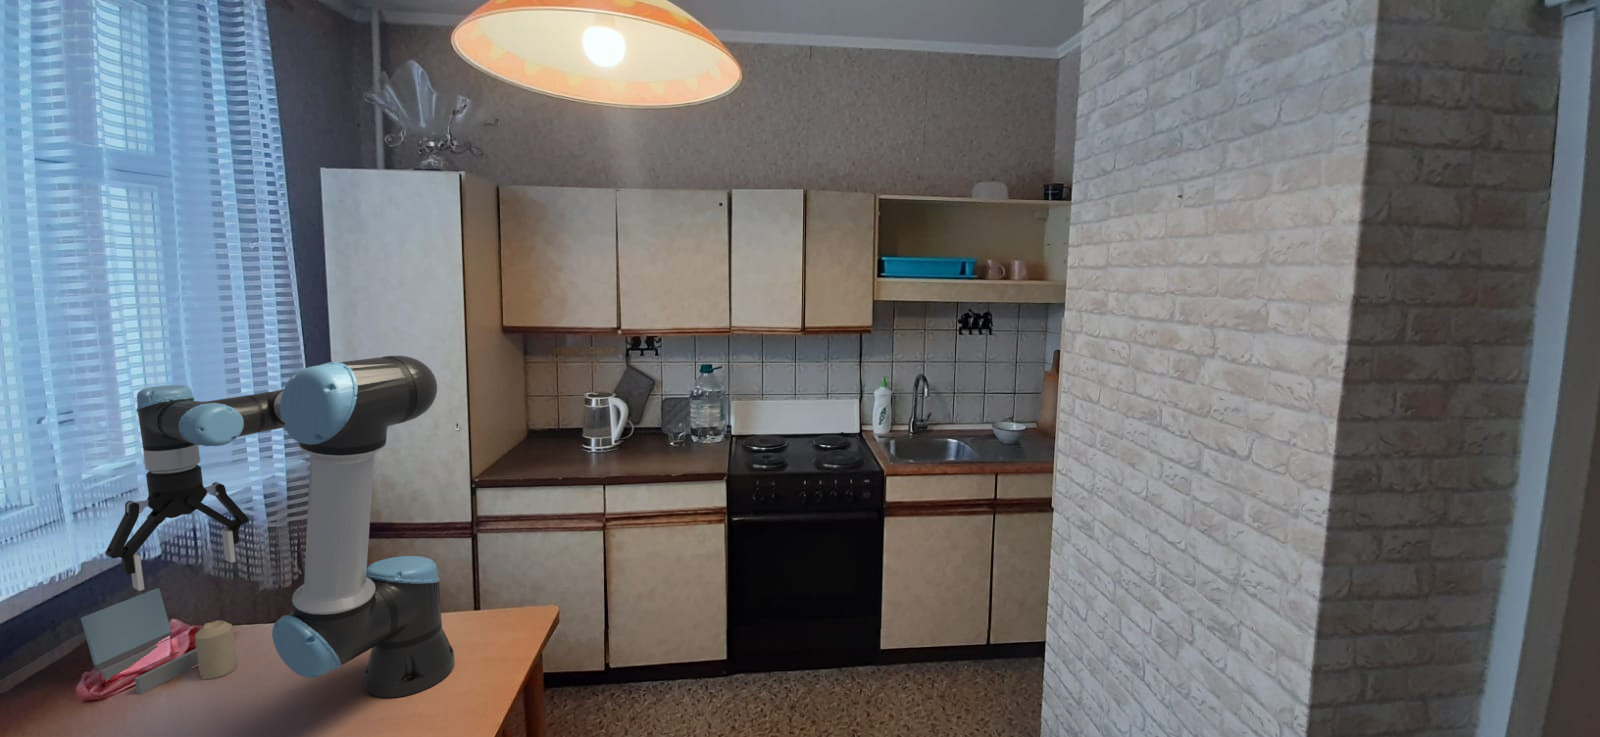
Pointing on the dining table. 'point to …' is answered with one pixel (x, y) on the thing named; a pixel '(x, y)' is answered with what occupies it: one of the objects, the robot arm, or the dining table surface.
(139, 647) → the cover
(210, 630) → the candle
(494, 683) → the dining table surface
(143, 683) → the grey panel stand
